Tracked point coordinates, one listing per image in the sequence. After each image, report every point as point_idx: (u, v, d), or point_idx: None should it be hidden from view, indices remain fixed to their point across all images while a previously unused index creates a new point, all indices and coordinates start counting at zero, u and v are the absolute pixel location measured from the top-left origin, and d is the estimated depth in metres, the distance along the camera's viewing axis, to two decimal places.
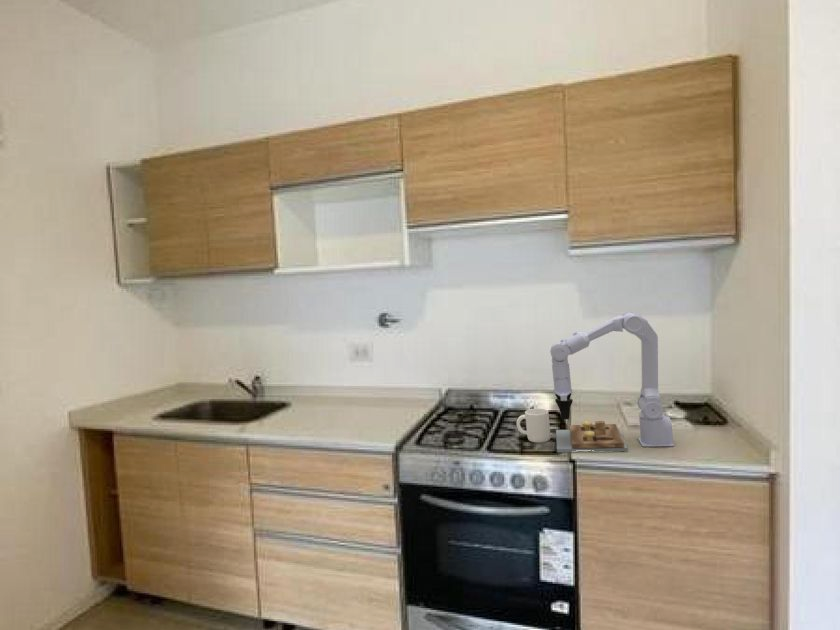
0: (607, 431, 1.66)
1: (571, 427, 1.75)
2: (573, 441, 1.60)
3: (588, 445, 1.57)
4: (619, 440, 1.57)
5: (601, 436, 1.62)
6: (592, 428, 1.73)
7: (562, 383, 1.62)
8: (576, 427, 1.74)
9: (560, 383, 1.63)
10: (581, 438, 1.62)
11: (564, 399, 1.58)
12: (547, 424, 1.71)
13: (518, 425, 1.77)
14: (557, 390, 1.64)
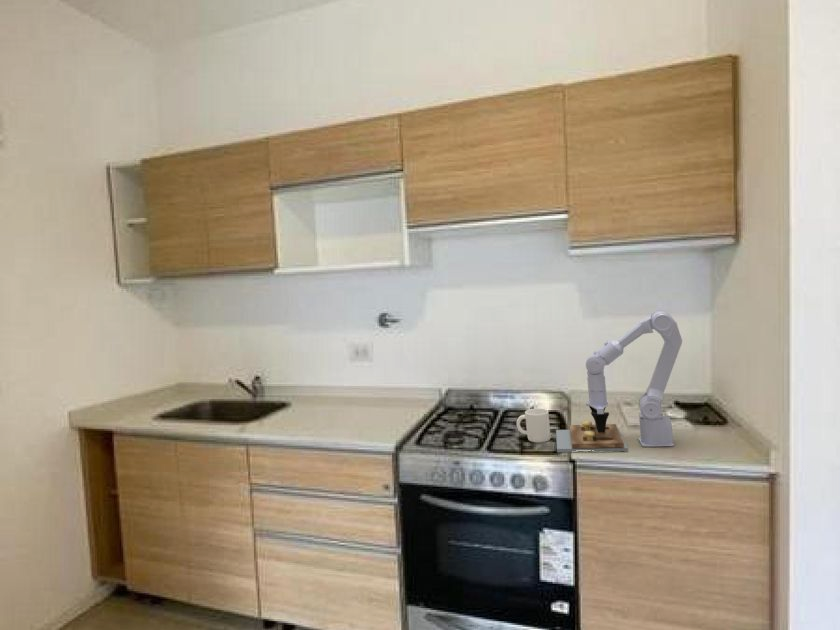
0: (607, 431, 1.66)
1: (571, 427, 1.75)
2: (573, 441, 1.60)
3: (588, 445, 1.57)
4: (619, 440, 1.57)
5: (601, 436, 1.62)
6: (592, 428, 1.73)
7: (598, 396, 1.61)
8: (576, 427, 1.74)
9: (596, 396, 1.62)
10: (581, 438, 1.62)
11: (601, 412, 1.57)
12: (547, 424, 1.71)
13: (518, 425, 1.77)
14: (593, 403, 1.63)
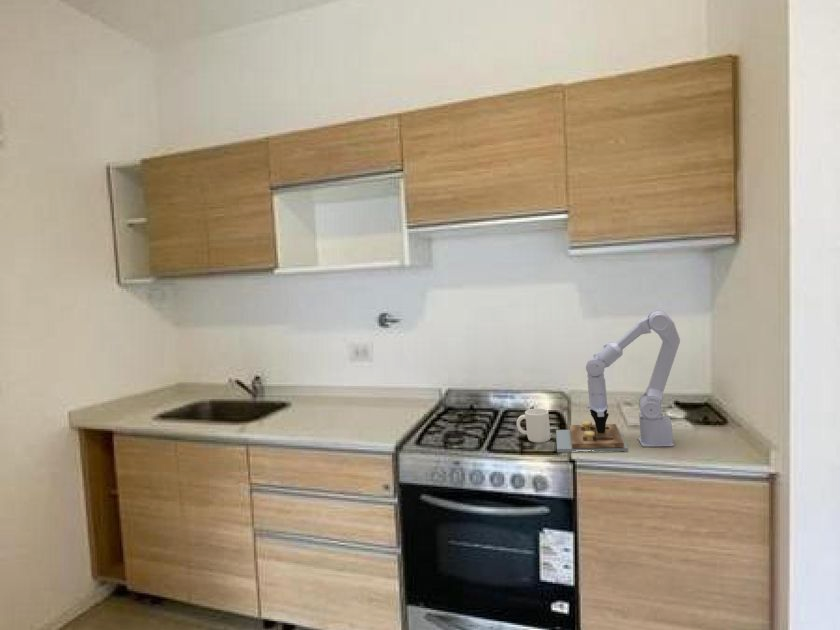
0: (607, 431, 1.66)
1: (571, 427, 1.75)
2: (573, 441, 1.60)
3: (588, 445, 1.57)
4: (619, 440, 1.57)
5: (601, 436, 1.62)
6: (592, 428, 1.73)
7: (598, 398, 1.61)
8: (576, 427, 1.74)
9: (596, 399, 1.62)
10: (581, 438, 1.62)
11: (601, 415, 1.57)
12: (547, 424, 1.71)
13: (518, 425, 1.77)
14: (593, 406, 1.63)
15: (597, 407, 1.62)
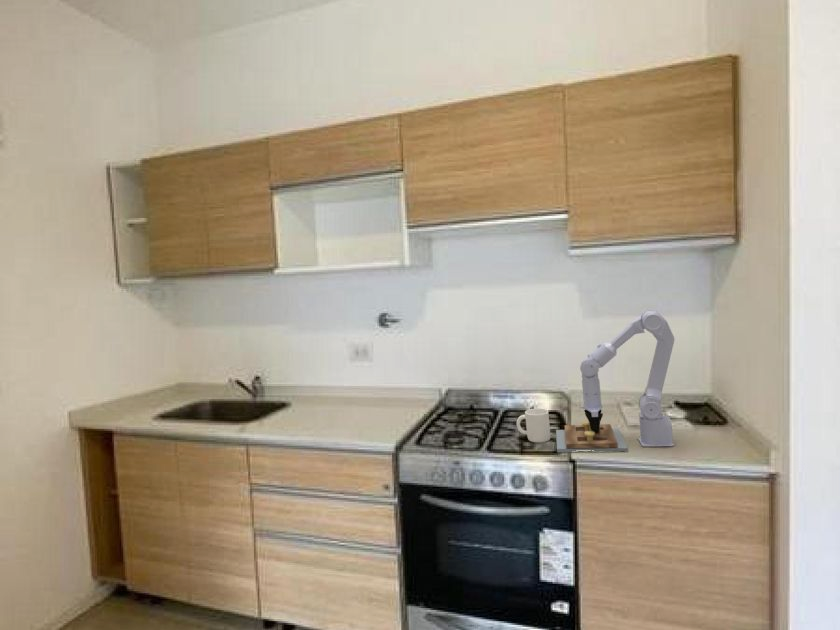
0: (601, 431, 1.67)
1: (566, 427, 1.75)
2: (567, 441, 1.61)
3: (582, 445, 1.57)
4: (613, 440, 1.57)
5: (595, 436, 1.62)
6: None
7: (593, 398, 1.62)
8: (571, 427, 1.74)
9: (590, 399, 1.62)
10: (575, 438, 1.63)
11: (595, 415, 1.58)
12: (547, 424, 1.71)
13: (518, 425, 1.77)
14: (587, 406, 1.63)
15: (591, 407, 1.62)
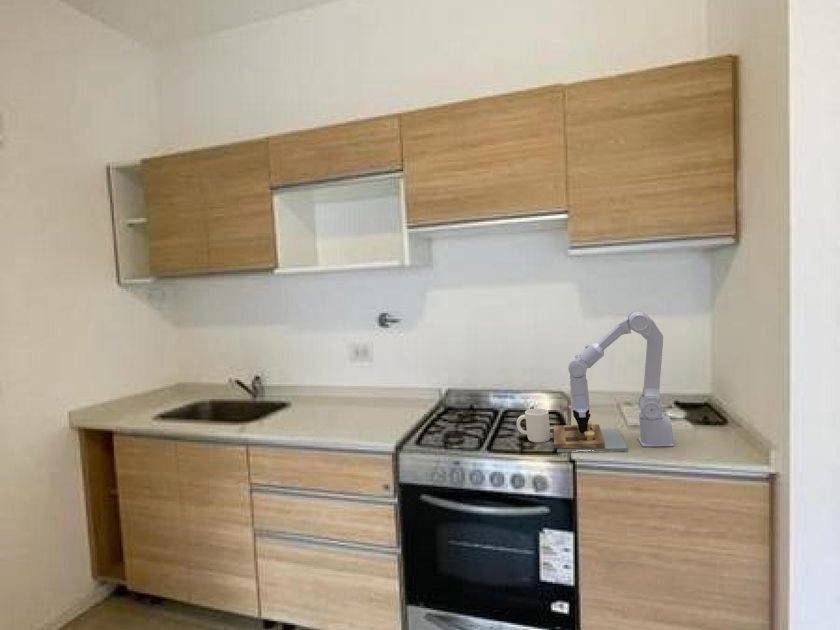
0: None
1: (555, 427, 1.76)
2: (555, 441, 1.62)
3: (570, 445, 1.58)
4: (601, 440, 1.58)
5: (583, 436, 1.63)
6: (575, 428, 1.75)
7: (581, 399, 1.63)
8: (560, 427, 1.75)
9: (578, 399, 1.63)
10: (563, 438, 1.64)
11: (583, 416, 1.59)
12: (547, 424, 1.71)
13: (518, 425, 1.77)
14: (575, 406, 1.64)
15: (579, 408, 1.63)
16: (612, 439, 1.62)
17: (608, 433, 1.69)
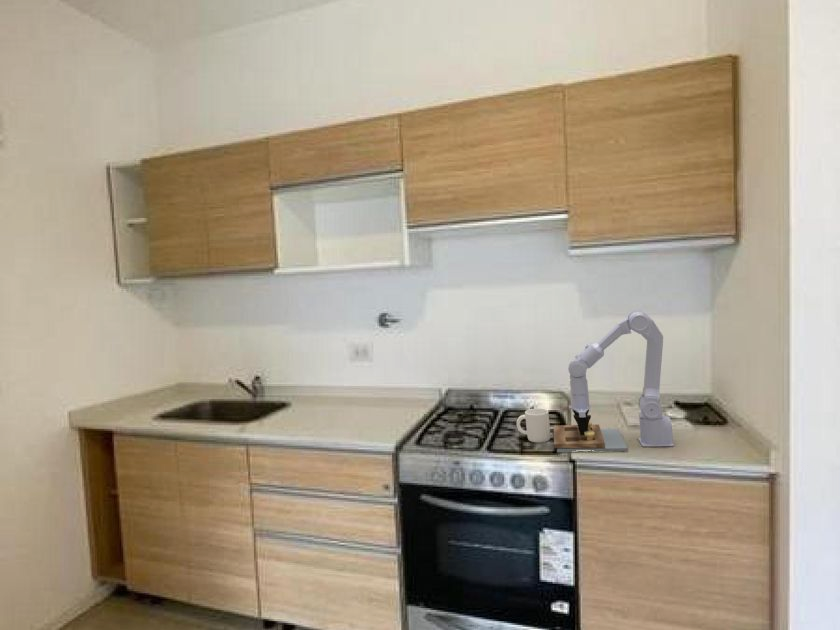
0: None
1: (555, 427, 1.76)
2: (555, 441, 1.62)
3: (570, 445, 1.58)
4: (601, 440, 1.58)
5: (583, 436, 1.63)
6: (575, 428, 1.75)
7: (581, 399, 1.63)
8: (560, 427, 1.75)
9: (578, 399, 1.63)
10: (563, 438, 1.64)
11: (583, 416, 1.59)
12: (547, 424, 1.71)
13: (518, 425, 1.77)
14: (575, 406, 1.64)
15: (579, 408, 1.63)
16: (612, 439, 1.62)
17: (608, 433, 1.69)
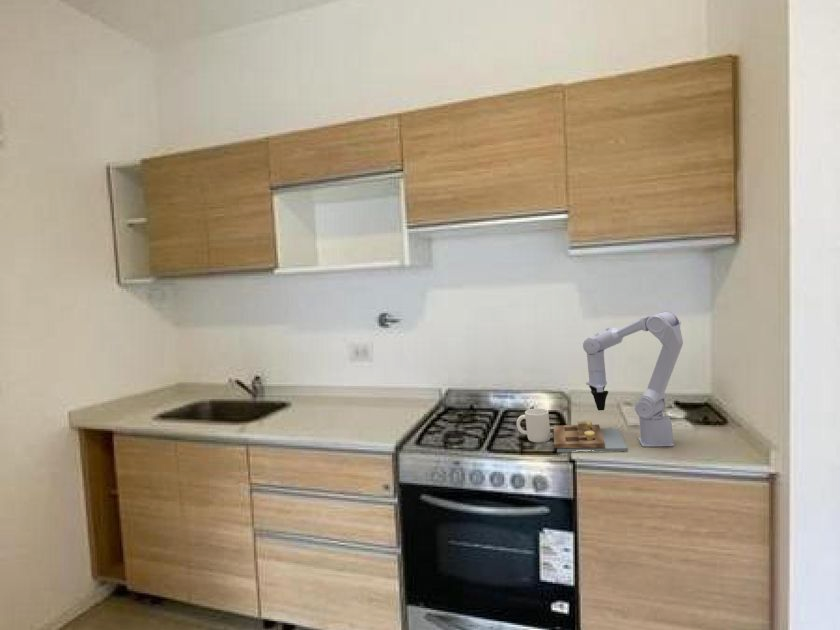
0: None
1: (555, 427, 1.76)
2: (555, 441, 1.62)
3: (570, 445, 1.58)
4: (601, 440, 1.58)
5: (583, 436, 1.63)
6: (575, 428, 1.75)
7: (598, 375, 1.68)
8: (560, 427, 1.75)
9: (595, 375, 1.69)
10: (563, 438, 1.64)
11: (600, 391, 1.64)
12: (547, 424, 1.71)
13: (518, 425, 1.77)
14: (592, 382, 1.70)
15: (596, 383, 1.69)
16: (612, 439, 1.62)
17: (608, 433, 1.69)
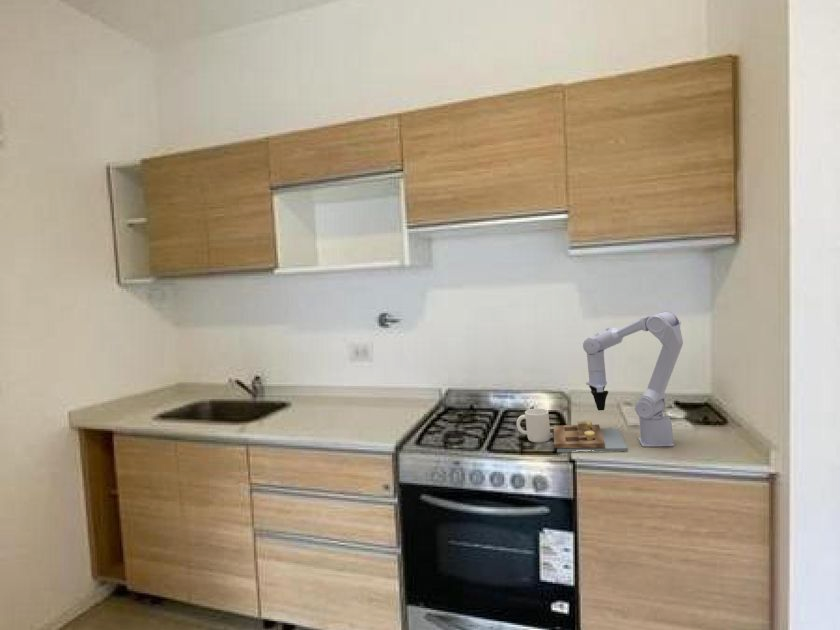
0: None
1: (555, 427, 1.76)
2: (555, 441, 1.62)
3: (570, 445, 1.58)
4: (601, 440, 1.58)
5: (583, 436, 1.63)
6: (575, 428, 1.75)
7: (598, 375, 1.68)
8: (560, 427, 1.75)
9: (595, 375, 1.69)
10: (563, 438, 1.64)
11: (600, 391, 1.64)
12: (547, 424, 1.71)
13: (518, 425, 1.77)
14: (592, 382, 1.70)
15: (596, 383, 1.69)
16: (612, 439, 1.62)
17: (608, 433, 1.69)
